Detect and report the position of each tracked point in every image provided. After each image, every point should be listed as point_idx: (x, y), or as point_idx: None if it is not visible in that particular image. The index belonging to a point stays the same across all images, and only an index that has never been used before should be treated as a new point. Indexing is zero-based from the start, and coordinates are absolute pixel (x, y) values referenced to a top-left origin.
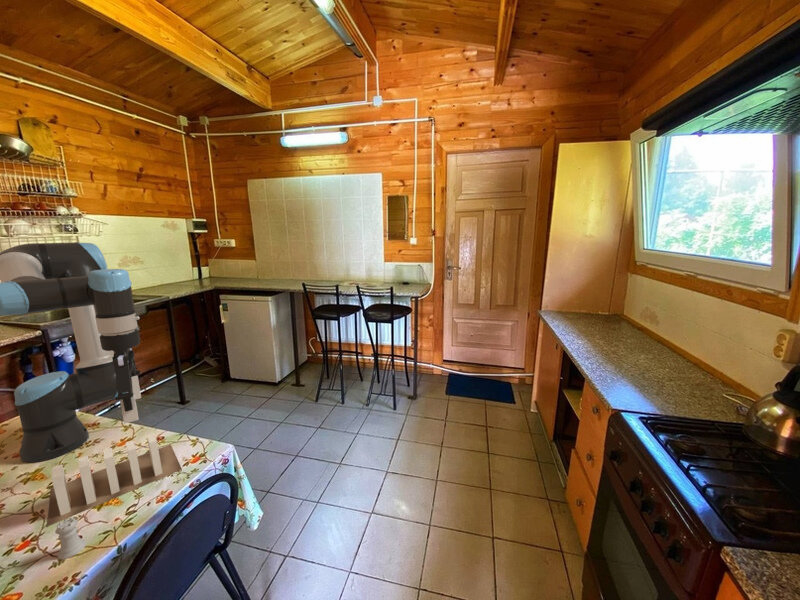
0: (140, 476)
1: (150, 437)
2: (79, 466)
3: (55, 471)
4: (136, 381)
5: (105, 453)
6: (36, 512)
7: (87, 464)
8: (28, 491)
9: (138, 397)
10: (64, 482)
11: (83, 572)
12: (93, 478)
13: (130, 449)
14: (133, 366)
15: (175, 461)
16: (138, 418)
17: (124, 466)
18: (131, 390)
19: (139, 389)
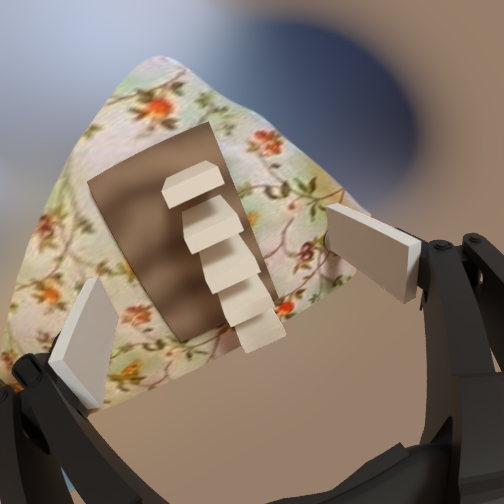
0: (222, 197)
1: (188, 192)
2: (267, 309)
3: (264, 341)
4: (76, 342)
5: (232, 281)
6: (220, 331)
7: (266, 297)
8: (164, 365)
9: (101, 287)
10: (261, 316)
11: (366, 213)
12: (171, 292)
13: (239, 226)
14: (103, 454)
15: (168, 144)
16: (329, 205)
17: (147, 252)
18: (480, 250)
19: (85, 301)
